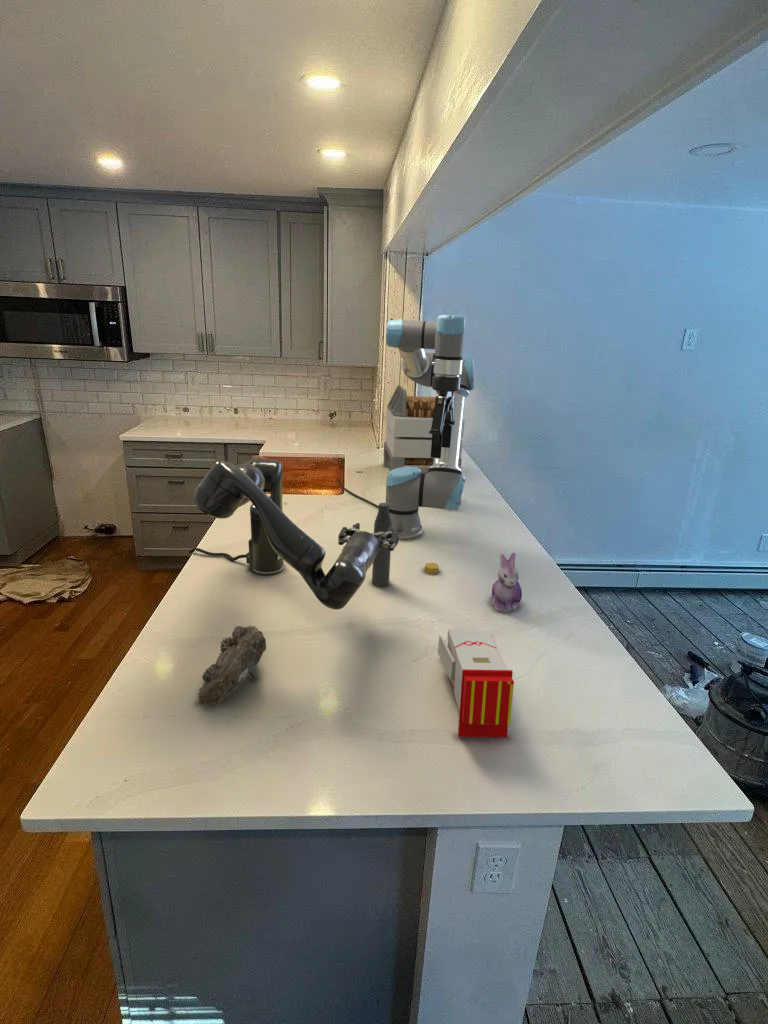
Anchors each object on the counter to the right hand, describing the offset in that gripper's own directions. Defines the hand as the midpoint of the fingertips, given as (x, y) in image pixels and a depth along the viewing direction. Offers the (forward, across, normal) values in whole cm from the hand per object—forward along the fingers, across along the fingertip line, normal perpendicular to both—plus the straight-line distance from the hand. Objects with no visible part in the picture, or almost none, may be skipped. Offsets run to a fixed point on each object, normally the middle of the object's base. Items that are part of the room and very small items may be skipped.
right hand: (440, 452), depth 160 cm
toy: (+37, +54, +20) cm, 69 cm away
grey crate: (+37, -105, -29) cm, 115 cm away
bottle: (+37, +13, -12) cm, 41 cm away
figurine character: (+37, -64, -6) cm, 74 cm away
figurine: (+37, +13, +24) cm, 46 cm away
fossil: (+37, +66, -28) cm, 81 cm away
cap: (+36, 0, 0) cm, 36 cm away
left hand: (+16, +25, -11) cm, 31 cm away
